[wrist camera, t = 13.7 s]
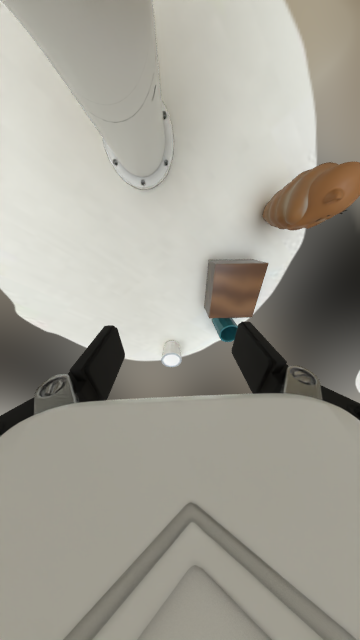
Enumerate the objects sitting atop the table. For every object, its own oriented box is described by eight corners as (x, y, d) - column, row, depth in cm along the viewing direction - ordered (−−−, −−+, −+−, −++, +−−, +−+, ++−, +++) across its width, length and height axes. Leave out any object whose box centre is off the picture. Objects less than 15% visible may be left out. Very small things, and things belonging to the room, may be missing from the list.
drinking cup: (221, 325, 37) (218, 342, 40) (242, 325, 37) (237, 341, 40) (213, 311, 44) (211, 326, 47) (231, 310, 44) (228, 325, 47)
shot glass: (183, 349, 52) (185, 363, 46) (168, 355, 53) (167, 369, 47) (175, 336, 49) (175, 350, 43) (159, 343, 50) (157, 357, 44)
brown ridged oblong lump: (249, 237, 33) (314, 235, 18) (249, 196, 30) (332, 150, 14) (286, 225, 33) (388, 213, 17) (291, 182, 29) (429, 115, 13)
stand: (208, 259, 36) (215, 263, 30) (252, 259, 36) (268, 263, 30) (204, 307, 43) (209, 318, 37) (241, 306, 43) (251, 317, 37)
